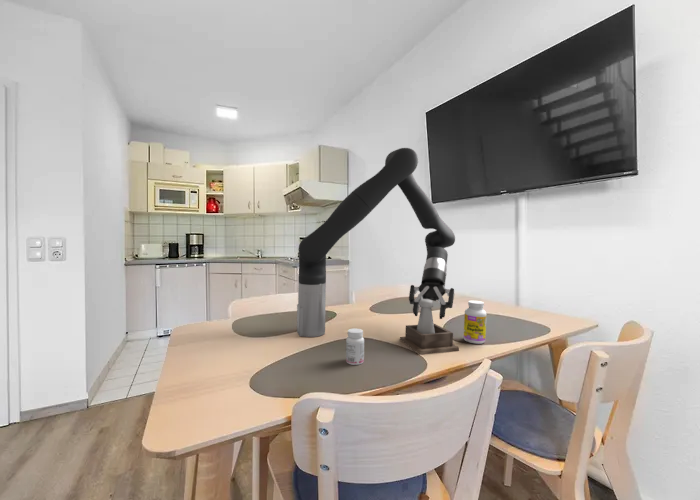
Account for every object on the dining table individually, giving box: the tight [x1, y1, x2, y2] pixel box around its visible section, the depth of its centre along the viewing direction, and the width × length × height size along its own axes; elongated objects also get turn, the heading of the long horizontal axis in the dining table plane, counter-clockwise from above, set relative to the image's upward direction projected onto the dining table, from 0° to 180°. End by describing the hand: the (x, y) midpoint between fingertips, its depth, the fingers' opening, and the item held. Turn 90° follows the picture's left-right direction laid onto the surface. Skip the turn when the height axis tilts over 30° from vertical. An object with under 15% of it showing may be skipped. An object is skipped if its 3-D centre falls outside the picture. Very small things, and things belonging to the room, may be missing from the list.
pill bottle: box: [345, 327, 365, 366], centre depth 84 cm, size 5×5×8 cm
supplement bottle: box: [463, 300, 488, 345], centre depth 103 cm, size 7×7×13 cm
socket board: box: [399, 323, 460, 355], centre depth 98 cm, size 13×13×5 cm
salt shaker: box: [417, 299, 435, 334], centre depth 99 cm, size 6×6×13 cm
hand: (428, 316), depth 97 cm, fingers open, 7 cm apart
